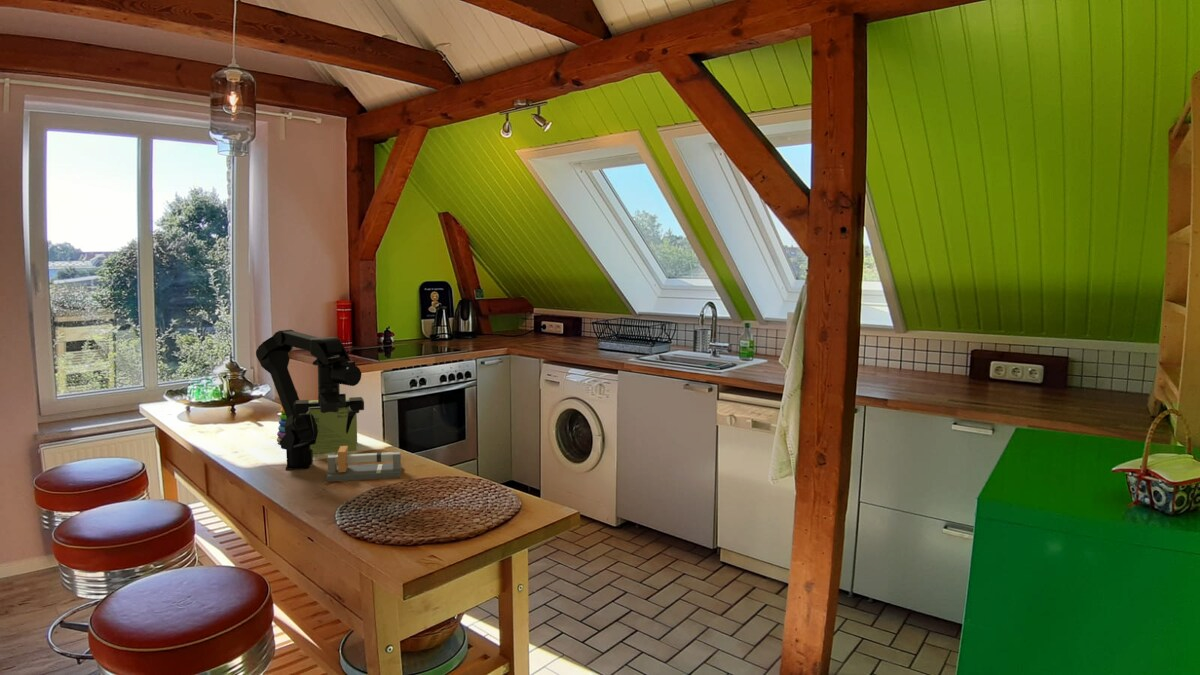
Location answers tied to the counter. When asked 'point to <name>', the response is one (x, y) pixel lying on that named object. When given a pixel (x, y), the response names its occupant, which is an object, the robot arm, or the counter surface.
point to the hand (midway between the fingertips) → (330, 434)
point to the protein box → (334, 431)
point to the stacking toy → (282, 425)
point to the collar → (342, 459)
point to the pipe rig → (365, 466)
